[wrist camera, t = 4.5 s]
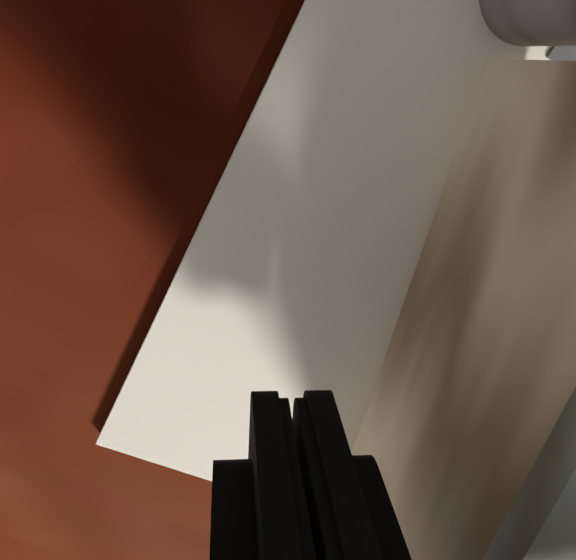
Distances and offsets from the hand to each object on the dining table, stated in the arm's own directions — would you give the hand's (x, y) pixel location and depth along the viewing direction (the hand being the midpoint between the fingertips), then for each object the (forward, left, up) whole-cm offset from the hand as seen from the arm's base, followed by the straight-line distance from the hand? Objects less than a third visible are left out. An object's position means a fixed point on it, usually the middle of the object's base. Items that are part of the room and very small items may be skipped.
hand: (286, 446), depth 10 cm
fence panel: (-3, -3, -3) cm, 5 cm away
